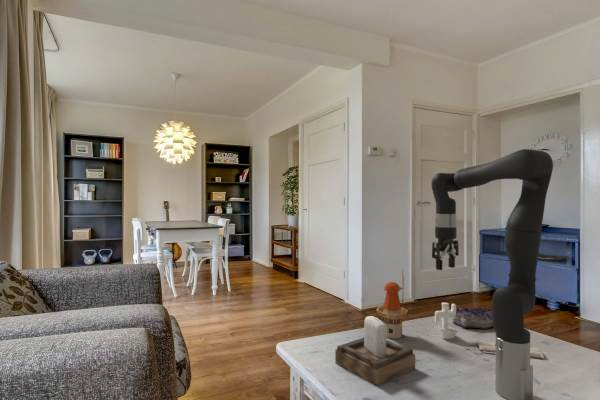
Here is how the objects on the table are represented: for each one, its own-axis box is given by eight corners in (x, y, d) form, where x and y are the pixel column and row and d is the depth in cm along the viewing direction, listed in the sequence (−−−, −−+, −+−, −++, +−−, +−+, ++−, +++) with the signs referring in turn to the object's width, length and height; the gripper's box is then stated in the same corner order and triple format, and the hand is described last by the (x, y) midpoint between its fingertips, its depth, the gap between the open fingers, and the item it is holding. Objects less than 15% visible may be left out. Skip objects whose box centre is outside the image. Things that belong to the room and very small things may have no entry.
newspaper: (480, 354, 140) (480, 347, 140) (476, 346, 151) (476, 339, 151) (548, 363, 132) (548, 356, 132) (538, 353, 143) (538, 347, 143)
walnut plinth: (415, 368, 126) (415, 350, 126) (377, 385, 114) (377, 365, 114) (372, 349, 142) (372, 333, 142) (335, 363, 130) (335, 345, 130)
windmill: (415, 344, 148) (416, 272, 148) (381, 344, 147) (381, 272, 148) (403, 329, 165) (403, 264, 165) (372, 329, 165) (373, 264, 165)
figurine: (431, 334, 159) (431, 300, 159) (450, 333, 160) (450, 300, 160) (439, 340, 152) (439, 305, 152) (460, 339, 153) (460, 304, 153)
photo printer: (388, 357, 124) (388, 321, 124) (377, 358, 123) (377, 323, 123) (372, 345, 134) (372, 312, 134) (362, 347, 132) (362, 314, 132)
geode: (490, 321, 176) (492, 302, 175) (502, 333, 165) (505, 313, 164) (448, 319, 177) (450, 300, 175) (458, 331, 165) (461, 311, 164)
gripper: (444, 227, 127) (444, 272, 127) (465, 225, 136) (465, 268, 136) (425, 225, 133) (425, 269, 133) (446, 224, 142) (446, 265, 142)
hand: (445, 268), depth 134 cm, fingers open, 8 cm apart
